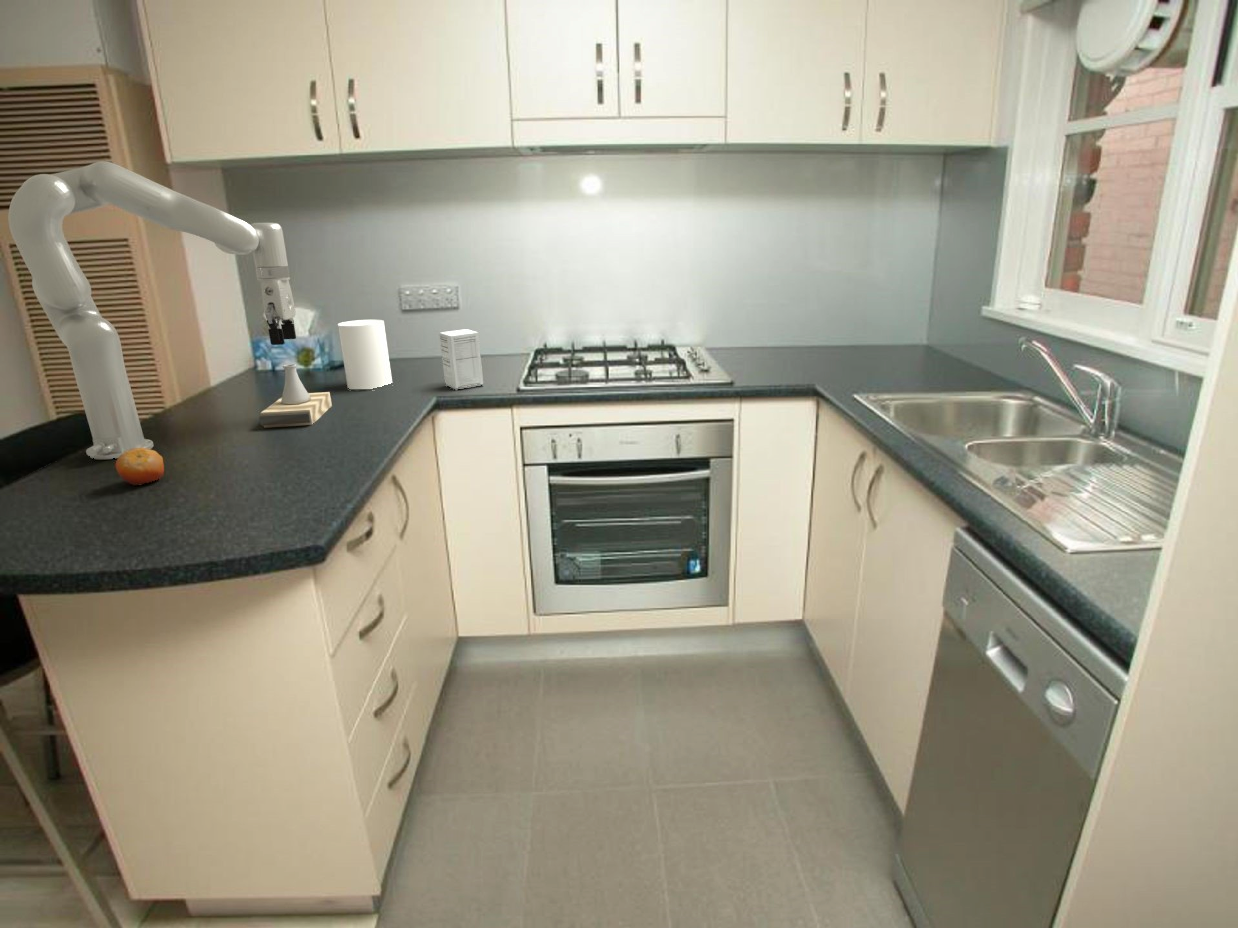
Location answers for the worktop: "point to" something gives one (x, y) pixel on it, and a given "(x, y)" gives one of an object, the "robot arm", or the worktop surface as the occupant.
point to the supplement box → (461, 358)
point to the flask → (293, 387)
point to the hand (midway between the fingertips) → (284, 341)
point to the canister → (365, 354)
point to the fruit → (140, 466)
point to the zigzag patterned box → (296, 411)
